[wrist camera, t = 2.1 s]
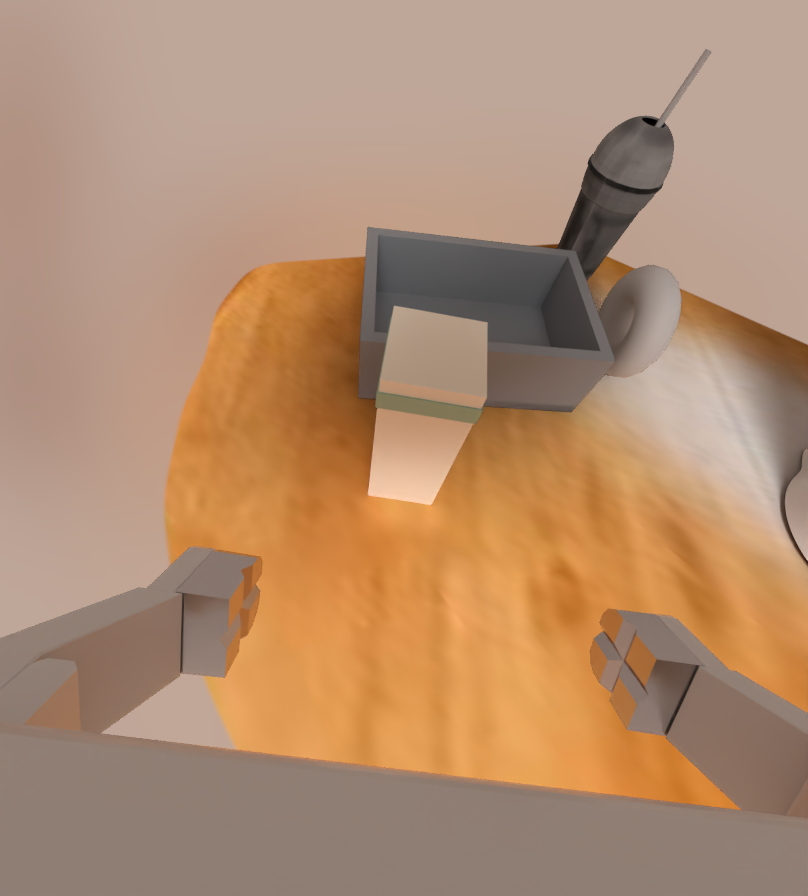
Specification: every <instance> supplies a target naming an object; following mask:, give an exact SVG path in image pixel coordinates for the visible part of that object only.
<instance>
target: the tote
mask: <svg viewBox="0 0 808 896" xmlns="http://www.w3.org/2000/svg"><path fill="white" fill-rule="evenodd" d="M394 306H399V307H405V308H410V309H416V310H421V311H427V312H432V313H438V314H443V315H449V316H455V317H460V318H466V319H471V320H477V321H482V322H488V327H487V399H486V400H485V402H484V404H483V406H485V407H500V408H515V409H530V410H545V411H560V412H572V411H573V410H574V409H575V407H576V406H577V405H578V404H579V403H580V402H581V401H582V400H583V398H584V397H585V396H586V395H587V394H588V393H589V392H590V390H591V389H592V388H593V387H594V386H595V385H596V384H597V383H598V381H599V380H600V379H601V378H602V377H603V376H604V375H605V374H606V372H607V371H608V370H609V369H610V368H611V367H612V366H613V365H614V363H615V362H616V361H615V358H614V355H613V353H612V350H611V347H610V344H609V342H608V339H607V336H606V333H605V331H604V328H603V325H602V322H601V320H600V317H599V314H598V311H597V309H596V306H595V303H594V300H593V298H592V295H591V292H590V289H589V287H588V284H587V281H586V278H585V276H584V273H583V270H582V267H581V265H580V262H579V259H578V256H577V254H576V251H571V250H562V249H553V248H545V247H536V246H528V245H519V244H510V243H502V242H493V241H484V240H476V239H467V238H458V237H449V236H441V235H433V234H424V233H415V232H407V231H398V230H389V229H381V228H372V227H368V228H367V243H366V258H365V273H364V287H363V302H362V317H361V332H360V355H359V390H358V398H366V399H376V393H377V387H378V382H379V377H380V372H381V366H382V361H383V356H384V351H385V345H386V340H387V335H388V330H389V324H390V319H391V318H392V314H393V308H394Z"/></svg>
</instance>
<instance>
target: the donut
mask: <svg viewBox="0 0 808 896" xmlns="http://www.w3.org/2000/svg"><path fill="white" fill-rule="evenodd" d="M681 300H682V299H681V293H680V288H679V284H678V281H677V280H676V279H675V277H674V276H673V275H672V273H671V272H670V271H669V270H667V269H665V268H662V267H658V266H655V265H647V266H643V267H641V268H637V269H634V270H632V271H630V272H629V273H628V274H626V275H625V276H624V277H623V278H621V279H620V280H619V281H618V282H617V283H616V284H615V286H614V287H613V288H612V289H611V290H610V292H609V294H608V295H607V297H606V299H605V301H604V302H603V304H602V306H601V309H600V311H599V317H600V320H601V322H602V325H603V328H604V331H605V333H606V336H607V339H608V342H609V344H610V347H611V350H612V353H613V355H614V358H615V361H616V362H615V363H614V365H613V366H612V367H611V368H610V369H609V370H608V371H607V372H606V374H608V375H611V376H615V377H629V376H632V375H635V374H637V373H640V372H642V371H644V370H645V369H646V368H647V367H649V366H650V365H651V364H653V363H654V362H655V361H656V360H657V359H658V358H659V356H660V355H661V354H662V353H663V351H664V350H665V349H666V348H667V346H668V344H669V342H670V340H671V338H672V336H673V334H674V332H675V329H676V326H677V323H678V320H679V317H680V310H681Z"/></svg>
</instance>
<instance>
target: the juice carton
mask: <svg viewBox="0 0 808 896" xmlns="http://www.w3.org/2000/svg"><path fill="white" fill-rule="evenodd" d="M487 327H488V322H482V321H477V320H471V319H466V318H460V317H455V316H449V315H443V314H438V313H432V312H427V311H421V310H416V309H410V308H405V307H399V306H394V308H393V314H392V318H391V319H390V324H389V330H388V335H387V340H386V345H385V351H384V356H383V361H382V366H381V372H380V377H379V382H378V387H377V393H376V403H375V408H377V414H376V423H375V433H374V442H373V452H372V461H371V471H370V480H369V490H368V495H370V496H376V497H383V498H389V499H396V500H402V501H409V502H415V503H422V504H428V505H432V503H433V501H434V499H435V497H436V495H437V493H438V491H439V489H440V487H441V485H442V483H443V482H444V480H445V478H446V476H447V474H448V472H449V470H450V468H451V466H452V464H453V462H454V460H455V458H456V456H457V455H458V453H459V451H460V449H461V447H462V445H463V443H464V441H465V439H466V437H467V435H468V433H469V431H470V429H471V428H472V426H473V424H476V423H477V422H478V420H479V418H480V416H481V414H482V412H483V404H484V402H485V400H486V399H487Z"/></svg>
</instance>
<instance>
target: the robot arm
mask: <svg viewBox="0 0 808 896" xmlns="http://www.w3.org/2000/svg"><path fill="white" fill-rule="evenodd" d="M785 510H786V516H787V520H788V524H789V527H790V529H791V532H792V534H793V537H794V539H795V541H796V543H797V545H798V546H799V548H800V550H801V552H802V553H803V555H804V556H805V558H806V559H807V561H808V448H807V449H805V450H804V452H803V457H802V468H801V470H800V472H799V473H798V474H797V475H796V476H795V477H794V478H793V479H792V481H791V482H790V484H789V485H788V488H787V491H786V495H785ZM261 574H262V559H261V557H259V556H254V555H248V554H242V553H236V552H230V551H224V550H216V549H212V548H205V547H198V546H193V547H190V548H188V549H187V550H186V551H185V552H184V553H183V554H182V555H181V556H180V557H179V558H178V559H177V560H176V561H175V562H174V563H173V564H172V565H170V566H169V567H168V568H167V569H166V570H165V571H164V572H163V573H162V574H161V575H160V576H159V577H158V578H157V579H156V580H155V581H154V582H153V583H152V584H151V585H150V586H149V587H147V588H136V589H133V590H131V591H128V592H125V593H122V594H120V595H117V596H114V597H111V598H109V599H106V600H103V601H101V602H98V603H95V604H92V605H90V606H87V607H84V608H81V609H79V610H76V611H73V612H70V613H68V614H65V615H62V616H60V617H57V618H54V619H51V620H49V621H46V622H43V623H40V624H38V625H35V626H32V627H29V628H27V629H24V630H21V631H19V632H16V633H13V634H10V635H8V636H5V637H2V638H0V896H808V713H806V712H805V711H803V710H801V709H800V708H798V707H796V706H794V705H793V704H791V703H789V702H788V701H786V700H784V699H783V698H781V697H779V696H777V695H776V694H774V693H772V692H771V691H769V690H767V689H766V688H764V687H762V686H760V685H759V684H757V683H755V682H754V681H752V680H750V679H749V678H747V677H745V676H743V675H742V674H740V673H738V672H737V671H731V670H729V669H728V668H727V667H726V666H725V665H724V664H723V663H722V662H721V661H720V660H719V659H718V658H717V657H716V656H715V655H714V654H713V653H711V652H710V651H709V650H708V649H707V648H706V647H705V646H704V645H703V644H702V643H701V642H700V641H699V640H698V639H697V638H696V637H695V636H694V635H693V634H692V633H691V632H690V631H689V630H688V629H687V628H686V627H685V626H684V625H683V624H682V623H681V622H680V621H679V620H678V619H676V618H674V617H672V616H669V615H660V614H651V613H649V614H648V613H640V612H632V611H624V610H616V609H607V610H606V611H605V612H604V613H603V615H602V617H601V620H600V625H601V628H602V630H603V632H601V633H600V634H599V635H597V636H596V637H595V638H594V639H593V642H592V646H591V649H590V662H591V666H592V669H593V673H594V675H595V676H596V678H597V680H598V682H599V683H600V684H601V685H602V686H604V687H605V688H606V689H607V690H608V691H610V692H611V695H610V702H611V704H612V706H613V707H614V709H615V711H616V712H617V714H618V716H619V717H620V719H621V721H622V722H623V724H624V726H625V728H626V729H627V730H632V731H638V732H644V733H650V734H656V735H663V736H667V737H666V739H667V740H668V741H669V742H671V743H672V744H673V745H674V746H675V747H676V748H677V749H678V750H679V751H680V752H681V753H682V754H683V755H684V756H685V757H686V758H687V759H688V760H689V761H691V762H692V763H693V764H694V765H695V766H696V767H697V768H698V769H699V770H700V771H701V772H702V773H703V774H704V775H705V776H706V777H707V778H708V779H709V780H711V781H712V782H713V783H714V784H715V785H716V786H717V787H718V788H719V789H720V790H721V791H722V792H723V793H724V794H725V795H726V796H727V797H728V798H729V799H731V800H732V801H733V802H734V803H735V804H736V805H737V806H738V807H739V808H740V809H741V810H735V809H726V808H718V807H710V806H701V805H693V804H685V803H677V802H669V801H660V800H652V799H644V798H636V797H628V796H619V795H611V794H603V793H595V792H587V791H578V790H570V789H562V788H553V787H545V786H537V785H528V784H520V783H511V782H503V781H494V780H486V779H478V778H469V777H461V776H452V775H444V774H435V773H427V772H418V771H410V770H402V769H393V768H385V767H376V766H368V765H360V764H351V763H343V762H334V761H326V760H318V759H309V758H301V757H293V756H284V755H276V754H267V753H259V752H251V751H242V750H234V749H226V748H217V747H209V746H200V745H192V744H183V743H175V742H166V741H159V740H150V739H142V738H133V737H125V736H117V735H108V734H100V733H102V732H103V731H104V730H106V729H107V728H109V727H110V726H111V725H113V724H114V723H115V722H117V721H118V720H120V719H121V718H122V717H124V716H125V715H127V714H128V713H129V712H131V711H132V710H133V709H135V708H136V707H138V706H139V705H140V704H142V703H143V702H144V701H146V700H147V699H149V698H150V697H151V696H153V695H154V694H156V693H157V692H158V691H160V690H161V689H163V688H164V687H165V686H167V685H168V684H169V683H171V682H172V681H173V680H175V679H176V678H178V677H179V676H180V673H183V674H193V675H203V676H213V677H223V678H225V676H226V674H227V673H228V671H229V669H230V667H231V665H232V663H233V661H234V659H235V658H236V656H237V654H238V652H239V644H240V639H242V638H243V637H245V636H247V635H248V633H249V631H250V629H251V627H252V625H253V622H254V619H255V616H256V613H257V609H258V604H259V598H260V590H259V588H258V587H257V585H256V583H257V581H258V579H259V578H260V576H261Z"/></svg>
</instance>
